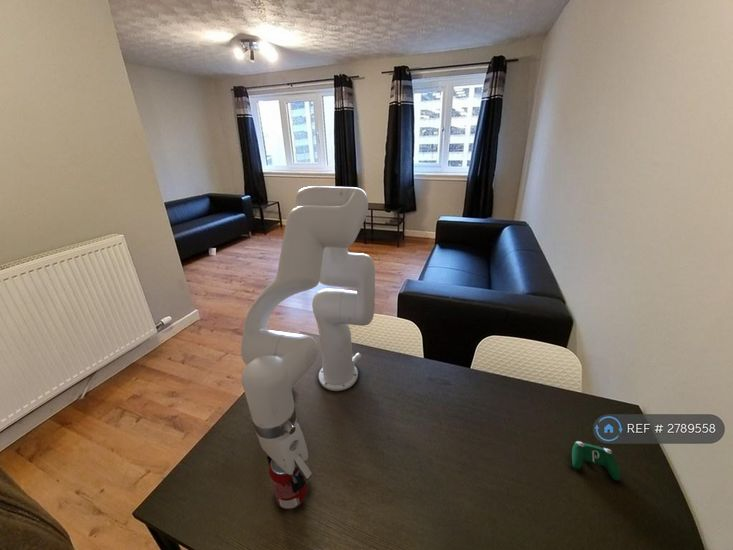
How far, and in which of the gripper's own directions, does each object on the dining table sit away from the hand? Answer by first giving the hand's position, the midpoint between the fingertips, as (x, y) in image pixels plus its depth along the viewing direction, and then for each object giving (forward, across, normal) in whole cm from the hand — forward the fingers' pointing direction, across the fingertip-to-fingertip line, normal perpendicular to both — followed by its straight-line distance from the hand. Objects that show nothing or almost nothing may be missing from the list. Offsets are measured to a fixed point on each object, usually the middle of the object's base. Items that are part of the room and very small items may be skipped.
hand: (287, 474), depth 64 cm
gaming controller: (+8, -51, -48) cm, 70 cm away
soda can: (+7, 0, 0) cm, 7 cm away
